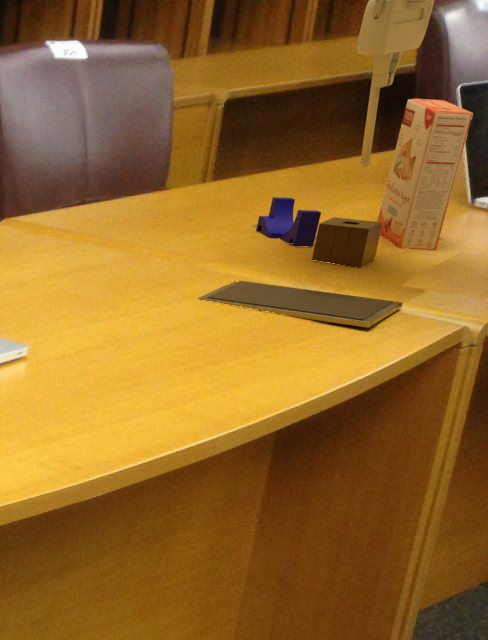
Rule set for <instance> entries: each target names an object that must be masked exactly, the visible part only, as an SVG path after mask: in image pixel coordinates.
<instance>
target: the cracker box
mask: <svg viewBox="0 0 488 640" xmlns="http://www.w3.org/2000/svg"><path fill="white" fill-rule="evenodd" d="M473 116H474V113H473V112H472V111H469V110H467V109H465V108H462V107H460V106H458V105H456V104H454V103H452V102H449V101H447V100H442V99H429V98H428V99H427V98H410V99H409V98H408V99H407V102H406V105H405V110H404V114H403V118H402V122H401V125H400V130H399V133H398V136H397V137H398V138H397V142H396V146H395V150H394V153H393V158H392V160H391V165H390V169H389V173H388V178H387V181H386V185H385V189H384V194H383V196H382V201H381V205H380V209H379V213H378V217H377V221H376V222H382V228H381V232H380V233H381V234H382V235H383V236H385V237H386V238H387V239H389V240H390V241H391V242H392V243H391V242H390V241H389V240H388V241H389V242H390V243H391V244H393V243H394V244H395V245H396V247H397V248H398V247H399V248H398V249H406V248H408V249H409V250H423V251H424V249H425V250H426V251H437V248H438V244H439V240H440V236H441V233H442V229H443V225H444V223H445V218H446V216H447V215H446V214H447V211H448V207H449V203H450V200H451V196H452V192H453V189H454V186H455V182H456V179H457V174H458V171H459V168H460V164H461V160H462V156H463V153H464V149H465V146H466V141H467V139H468V135H469V131H470V127H471V125H472V120H473ZM381 234H380V235H381ZM382 235H381V236H382ZM383 236H382V237H383ZM385 237H384V238H385ZM386 238H385V239H386ZM387 239H386V240H387ZM394 244H393V245H394ZM395 245H394V246H395ZM408 249H407V250H408Z"/></svg>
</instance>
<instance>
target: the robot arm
mask: <svg viewBox="0 0 488 640" xmlns="http://www.w3.org/2000/svg"><path fill="white" fill-rule="evenodd" d="M434 5H435V0H368V1H367V4H366V7H365V10H364V14H363V17H362V21H361V25H360V30H359V34H358V39H357V42H356V54H357V55H359V56H372V76H373V78H372V77H371V84H370V86H371V85H372V86H373V87H380V88H385V87H390V86H391V85H392V84H393V82H394V78H395V74H396V71H397V69H398V67H399V65H400V62H401V60H402V54H403V52H405V51H410V50H415V49H419V48H420V47H421V45H422V43H423V41H424V38H425V35H426V32H427V30H428V26H429V22H430V19H431V15H432V12H433V8H434Z"/></svg>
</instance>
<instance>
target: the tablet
mask: <svg viewBox="0 0 488 640" xmlns="http://www.w3.org/2000/svg"><path fill="white" fill-rule="evenodd" d="M232 282H233V283H232ZM232 282H230V283H231V284H230V283H228V284H229V285H227V284H226V285H223V286H221V287H219V288H217V289H215V290H212V291H210V292H208V293H206V294H203V295H201V296H199V297H197V299H200V300H199V301H202V300H206V301H205V302H207V301H213V302H219V303H224V304H229V305H235V306H242V307H247V308H252V309H258V310H263V311H269V312H274V313H279V314H285V315H290V316H289V317H291V316H294V317H293V318H297V317H300V318H299V319H305V320H311V321H318V322H319V321H320V322H326V323H332V324H339V325H347V326H353V327H360V328H366V329H367V328H368V329H369V328H371V327H373V326H374V325H375V324H377V323H379V322H381V321H382V320H384V319H385V318H387V317H389V316H390V315H392V314H393V313H395V312H396V311H398V310H400V309H401V308H402V307H403V302H402V301H395V300H388V299H380V298H373V297H365V296H357V295H351V294H345V293H336V292H335V293H334V292H328V291H320V290H312V289H307V288H298V287H290V286H284V285H278V284H277V285H276V284H268V283H262V282H254V281H245V280H239V282H234V281H232ZM213 302H212V303H213ZM224 304H223V305H224ZM229 305H228V306H229ZM235 306H234V307H235ZM279 314H278V315H279ZM285 315H284V316H285Z"/></svg>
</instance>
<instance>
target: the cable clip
mask: <svg viewBox="0 0 488 640" xmlns="http://www.w3.org/2000/svg"><path fill="white" fill-rule="evenodd" d="M295 201H296V199H295V198H293V197H279V196H278V197H276V196H273V197H272V199H271V204H270V207H269V213H268V215H259V216H258V220H257V223H256V228H255V230H256V232H260V234H261V235H263V236H265V237H266V238H268V239H277V238H280V239H279V240H281V239H282V240H281V241H282V242H284V241H285V242H284V243H286V242H287V243H286V244H288V243H293V244H292V245H293V246H313V247H314V246H315V241H316V237H317V233H318V228H319V224H320V219H321V215H322V212H321V211H320V210H315V209H314V210H313V209H298V210H297V211H296V212H297V213H296V216H295V217H294V207H295ZM293 246H292V247H293Z"/></svg>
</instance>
